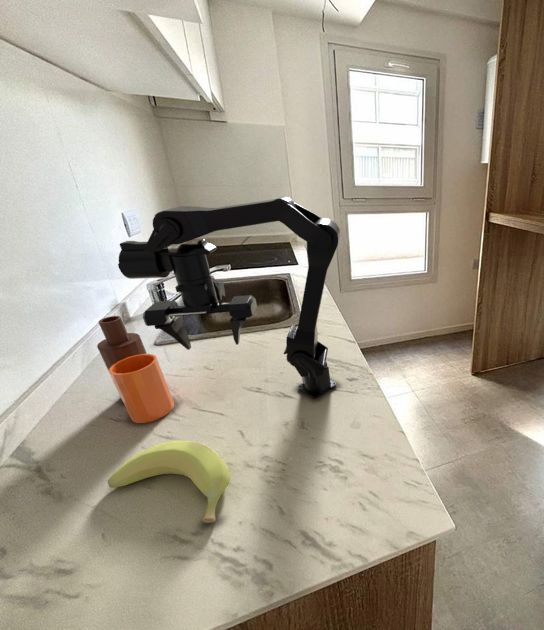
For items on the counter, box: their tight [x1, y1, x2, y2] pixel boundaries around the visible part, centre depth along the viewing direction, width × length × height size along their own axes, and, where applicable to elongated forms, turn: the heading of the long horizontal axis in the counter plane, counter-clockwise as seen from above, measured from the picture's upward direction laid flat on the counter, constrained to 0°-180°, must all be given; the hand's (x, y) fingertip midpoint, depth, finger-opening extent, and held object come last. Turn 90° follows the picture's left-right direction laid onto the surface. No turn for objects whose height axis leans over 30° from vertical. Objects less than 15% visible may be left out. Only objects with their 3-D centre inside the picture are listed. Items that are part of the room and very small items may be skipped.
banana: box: [107, 440, 231, 524], centre depth 53 cm, size 14×6×20 cm
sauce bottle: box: [96, 315, 148, 379], centre depth 71 cm, size 7×7×19 cm
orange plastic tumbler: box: [108, 353, 175, 424], centre depth 68 cm, size 7×7×12 cm
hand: (214, 346), depth 70 cm, fingers open, 9 cm apart
